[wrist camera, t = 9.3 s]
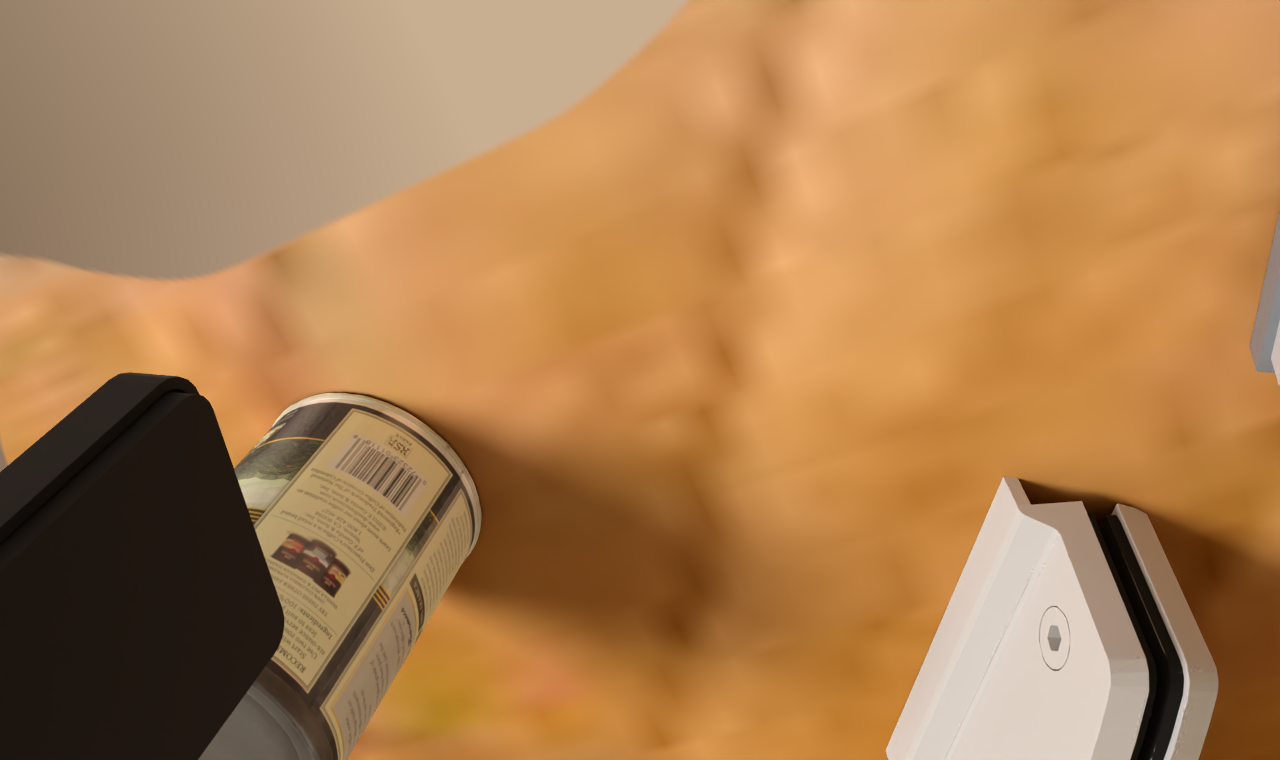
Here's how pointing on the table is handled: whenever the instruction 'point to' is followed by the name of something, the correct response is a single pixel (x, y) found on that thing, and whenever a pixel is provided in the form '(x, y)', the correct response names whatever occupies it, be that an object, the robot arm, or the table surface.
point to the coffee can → (345, 567)
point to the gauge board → (1269, 316)
